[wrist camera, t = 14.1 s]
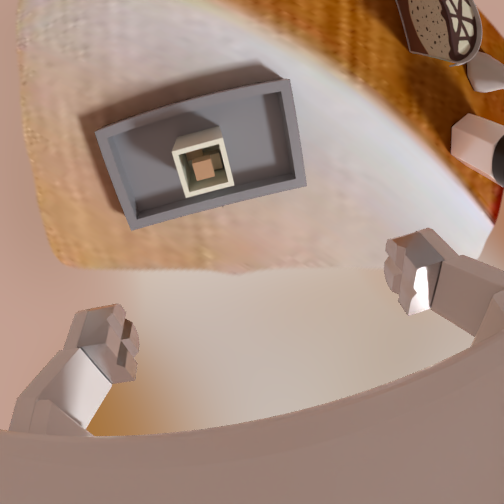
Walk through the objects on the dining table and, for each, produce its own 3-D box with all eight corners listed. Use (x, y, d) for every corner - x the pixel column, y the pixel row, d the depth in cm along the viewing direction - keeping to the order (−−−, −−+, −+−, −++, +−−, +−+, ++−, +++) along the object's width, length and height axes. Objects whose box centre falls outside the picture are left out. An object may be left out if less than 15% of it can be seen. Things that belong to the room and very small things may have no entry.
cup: (177, 137, 34) (171, 152, 28) (219, 125, 34) (223, 138, 28) (188, 175, 37) (185, 200, 31) (228, 165, 37) (235, 187, 31)
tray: (102, 127, 33) (94, 132, 30) (283, 78, 33) (289, 79, 30) (135, 219, 40) (131, 230, 37) (300, 177, 40) (306, 186, 38)
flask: (460, 53, 32) (508, 61, 24) (486, 47, 31) (532, 55, 23) (470, 97, 36) (517, 111, 27) (496, 87, 35) (540, 101, 27)
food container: (443, 59, 32) (492, 66, 24) (411, 62, 33) (460, 68, 24) (422, -19, 26) (470, -27, 17) (388, -20, 26) (434, -33, 18)
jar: (480, 163, 42) (529, 192, 32) (448, 167, 42) (499, 198, 32) (483, 113, 37) (537, 134, 27) (450, 112, 37) (507, 134, 27)
